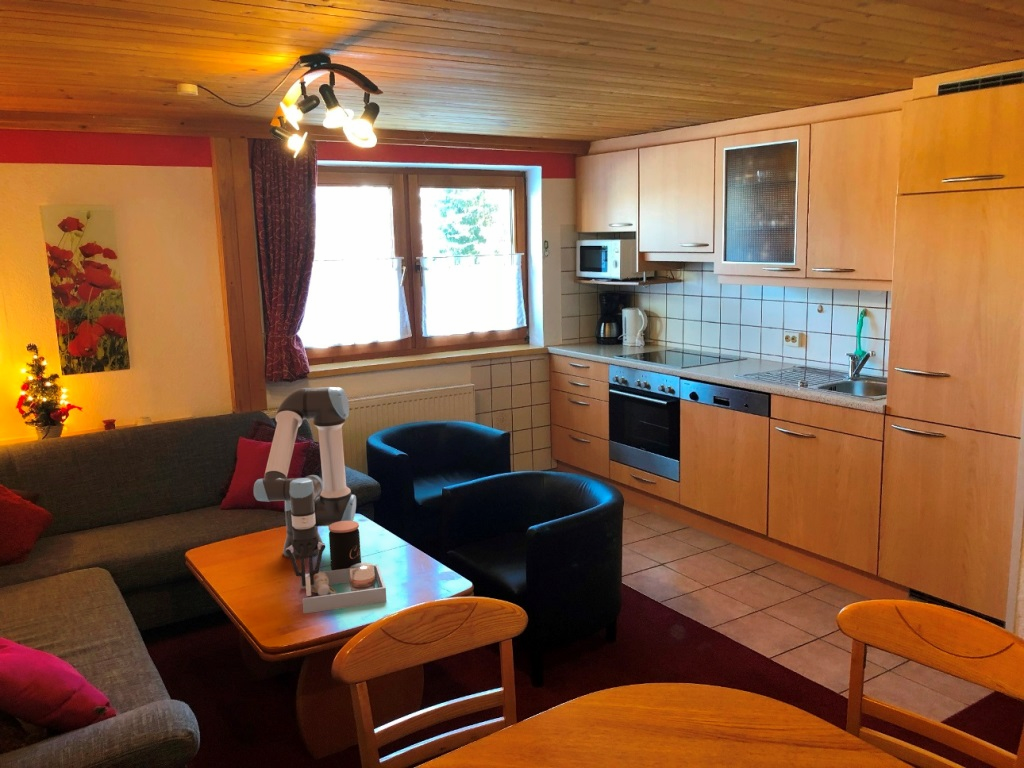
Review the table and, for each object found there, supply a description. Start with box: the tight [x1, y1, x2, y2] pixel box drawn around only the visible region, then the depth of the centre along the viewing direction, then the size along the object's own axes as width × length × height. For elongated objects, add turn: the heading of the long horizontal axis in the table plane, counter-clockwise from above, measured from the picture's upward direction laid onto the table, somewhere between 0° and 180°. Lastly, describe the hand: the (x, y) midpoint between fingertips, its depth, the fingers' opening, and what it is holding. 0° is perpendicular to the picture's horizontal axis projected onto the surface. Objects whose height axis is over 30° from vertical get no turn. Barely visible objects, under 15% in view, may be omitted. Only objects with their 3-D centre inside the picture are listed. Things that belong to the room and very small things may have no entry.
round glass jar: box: [349, 562, 376, 592], centre depth 275 cm, size 8×8×9 cm
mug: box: [311, 570, 337, 596], centre depth 274 cm, size 8×10×10 cm
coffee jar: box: [327, 520, 362, 571], centre depth 291 cm, size 11×11×18 cm
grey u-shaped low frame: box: [300, 564, 387, 615], centre depth 273 cm, size 22×26×5 cm
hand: (308, 594), depth 271 cm, fingers closed
